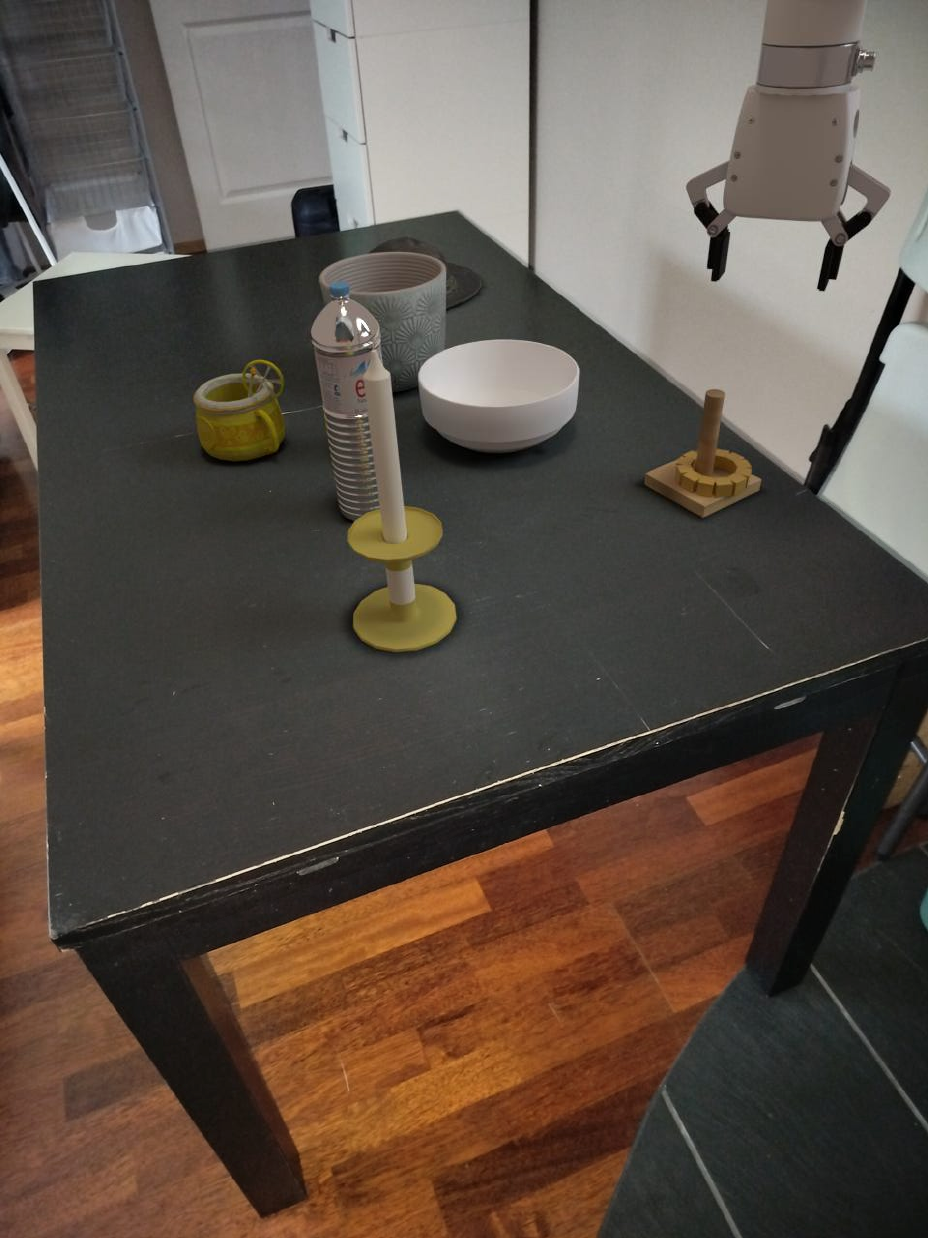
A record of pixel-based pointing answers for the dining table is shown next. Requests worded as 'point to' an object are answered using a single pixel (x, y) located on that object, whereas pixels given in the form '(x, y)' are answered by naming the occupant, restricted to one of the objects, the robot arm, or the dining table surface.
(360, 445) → the water bottle
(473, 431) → the bowl
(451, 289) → the hat
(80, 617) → the dining table surface
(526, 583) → the dining table surface
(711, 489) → the ring
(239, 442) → the mug
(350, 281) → the planter
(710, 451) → the peg stand
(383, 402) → the candle
